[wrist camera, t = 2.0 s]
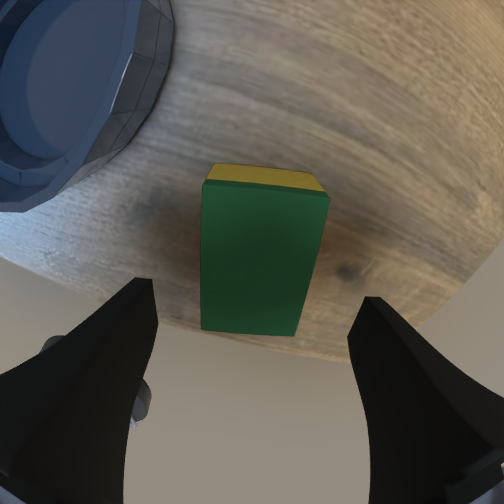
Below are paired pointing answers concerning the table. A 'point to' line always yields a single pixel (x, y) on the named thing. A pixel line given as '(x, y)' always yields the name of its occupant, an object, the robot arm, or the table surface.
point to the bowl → (73, 88)
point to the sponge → (258, 247)
